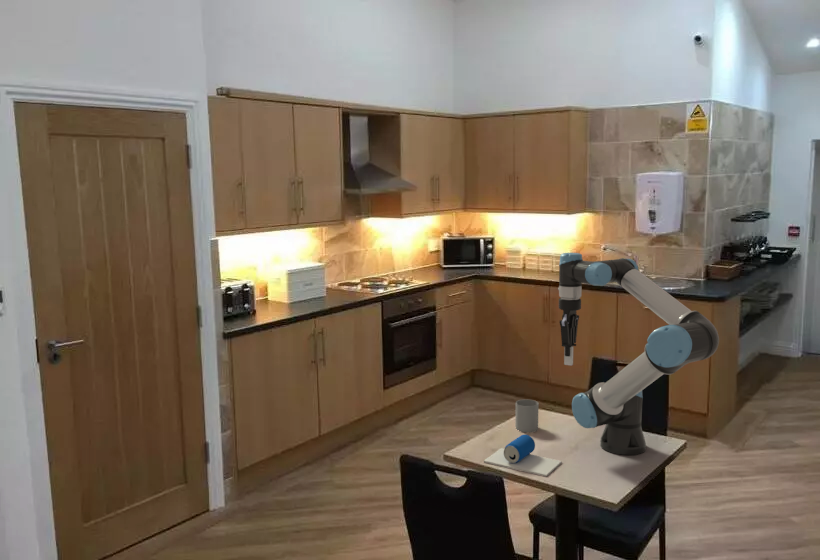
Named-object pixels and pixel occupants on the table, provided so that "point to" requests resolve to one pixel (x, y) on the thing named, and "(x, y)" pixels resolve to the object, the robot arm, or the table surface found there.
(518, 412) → the cup
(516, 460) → the beverage can
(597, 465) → the table surface
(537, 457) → the flat white box
